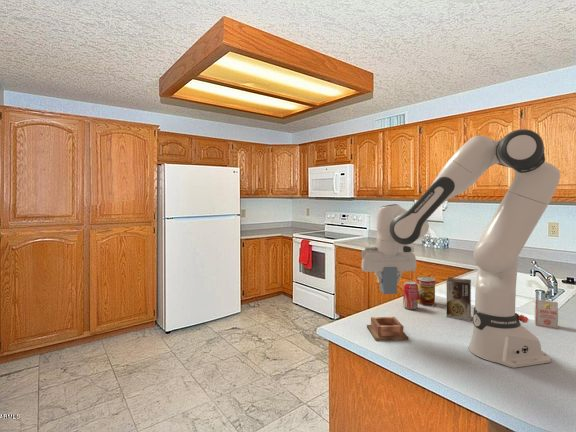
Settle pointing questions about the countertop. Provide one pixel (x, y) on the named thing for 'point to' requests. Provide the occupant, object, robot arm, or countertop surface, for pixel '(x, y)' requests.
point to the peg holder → (386, 329)
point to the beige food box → (546, 314)
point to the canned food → (426, 291)
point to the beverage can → (410, 295)
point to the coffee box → (458, 298)
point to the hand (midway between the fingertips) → (388, 282)
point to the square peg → (389, 280)
